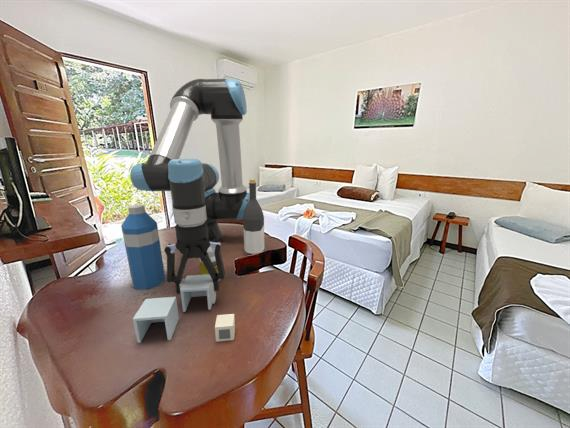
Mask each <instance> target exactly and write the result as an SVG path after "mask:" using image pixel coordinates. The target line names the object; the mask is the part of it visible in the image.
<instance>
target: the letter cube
mask: <svg viewBox="0 0 570 428" xmlns="http://www.w3.org/2000/svg"><path fill="white" fill-rule="evenodd" d="M214 324H215V326H214V333H215V334H214V335H215V342H226V341H235V333H236V332H235V331H236V322H235V313H227V314H217V315H216V320H215V323H214Z"/></svg>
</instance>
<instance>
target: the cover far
mask: <svg viewBox="0 0 570 428" xmlns="http://www.w3.org/2000/svg"><path fill="white" fill-rule="evenodd" d="M184 279H185V281H184V283H183V285H182V287H181V289H180V292H181V294H180V300H182V301H181V307H182V312H183V313H184V312H186V311H187V308H188V306H189V303H190V301H191V298H192V297H205V296H206V298H207V299H206V300H207V309H208V310H209V311H210V310H211V309H212V306H213V304H212V299H211V288H210V281H211V276H210V274H206V275H201V274H194V275H193V274H192V275H190V274H189V275H186V277H185V278H184Z"/></svg>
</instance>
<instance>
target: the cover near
mask: <svg viewBox="0 0 570 428" xmlns="http://www.w3.org/2000/svg"><path fill="white" fill-rule="evenodd" d="M179 320H180V315H179V308H178V302H177V297H176V296H168V297H167V296H166V297H155V298H154V297H153V298H145V299H144V301H143V302H142V304H141V306H140V307H139V308H138V310H137V312H136V313H135V314H134V316H133V318H132V321H133V327H134V333H135V338H136V342H137V344H141V343H142V340H143V339H144V337H145V335H146V333H147V332H148V329H149V328H150V326H151V324H152V323H162V322H164V325H165V331H166V337H167V341H171V340H172V337H173V335H174V334H175V333H174V332H175V331H176V327H177V326H178V323H179Z"/></svg>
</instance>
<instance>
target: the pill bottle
mask: <svg viewBox="0 0 570 428" xmlns="http://www.w3.org/2000/svg"><path fill="white" fill-rule="evenodd" d="M207 253H208V256H209V258H210V260H211V262H212V263H213V265H214V267H215V269H216V271H217V273H218V269H217V264H216V259H215V254H214V253H215V251H213V250H212V248H211V247H209V248H208V250H207ZM198 259H199V271H200V275H206V274H209V273H208V271H207V269H206V267H205V265H204V263H203V262H202V261H201V259H200V258H198ZM220 281H221V279H219V282H220Z"/></svg>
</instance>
